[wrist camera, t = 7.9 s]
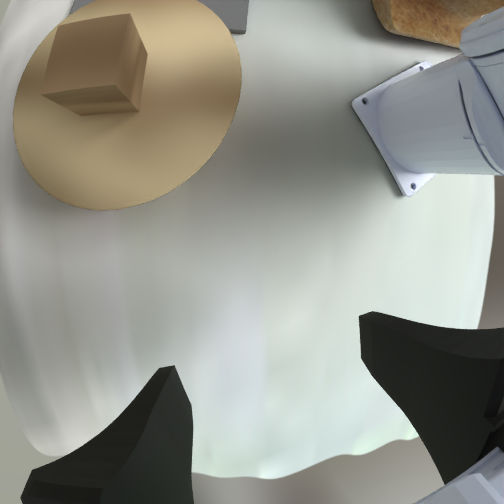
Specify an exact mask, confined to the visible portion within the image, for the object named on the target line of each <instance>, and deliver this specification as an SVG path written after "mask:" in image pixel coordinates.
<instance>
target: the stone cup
mask: <svg viewBox="0 0 504 504" xmlns="http://www.w3.org/2000/svg"><path fill="white" fill-rule="evenodd" d="M372 3H373V8H374V10H375V12H376V13H377V17H378V19H379V20H380V22H381V23H382V25H383V27H384V28H385V29H386V30H387V31H389V32H391V33H394V34H398V35H402V36H407V37H412V38H415V39H420V40H425V41H430V42H435V43H440V44H443V45H447V46H452V47H456V48H459V42H460V41H461V32H462V30H463V29H464V28H466V27H467V26H468V25H470V24H471V23H473V22H474V21H476V20H478V19H480V17H481V16H482V15H485V14H488V13H491V12H493V11H495V10H497V9H499V8H501V7H504V0H372Z"/></svg>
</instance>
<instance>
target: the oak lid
mask: <svg viewBox="0 0 504 504" xmlns="http://www.w3.org/2000/svg"><path fill="white" fill-rule="evenodd" d="M240 90H241V63H240V57H239V53H238V50H237V47H236V43H235V41H234V39H233V37H232V35H231V33H230V31H229V30H228V28H227V27H226V25H225V24H224V23H223V21H222V20H221V19H220V18H219V17H218V16H217V15H216V14H215V13H214V12H213V11H212V10H211V9H209V8H208V7H206V6H205V5H204V4H202V3H201V2H199V1H197V0H95V1H93V2H91V3H89V4H87V5H85V6H83V7H82V8H80V9H78V10H77V11H75V12H74V13H72V14H71V15H69V16H68V17H67V18H66V19H64V20H63V21H62V22H61V23H60V24H58V25H57V26H56V27H55V28H54V29H53V30H52V31H51V32H50V33H49V34H48V35H47V36H46V38H45V39H44V40H43V41H42V43H41V44H40V45H39V46H38V48H37V49H36V51H35V52H34V54H33V55H32V57H31V59H30V60H29V62H28V64H27V66H26V68H25V70H24V72H23V75H22V77H21V80H20V83H19V85H18V89H17V93H16V97H15V103H14V111H13V130H14V138H15V143H16V146H17V150H18V153H19V156H20V158H21V160H22V163H23V165H24V167H25V168H26V170H27V171H28V173H29V175H30V176H31V177H32V178H33V180H34V181H35V182H36V183H37V184H38V185H39V186H40V187H41V188H42V189H43V190H45V191H46V192H47V193H48V194H49V195H51V196H53V197H55V198H56V199H58V200H60V201H62V202H64V203H67V204H69V205H72V206H75V207H79V208H84V209H90V210H115V209H122V208H127V207H132V206H136V205H140V204H143V203H145V202H148V201H151V200H154V199H156V198H158V197H160V196H162V195H164V194H167V193H169V192H170V191H172V190H173V189H175V188H176V187H178V186H180V185H181V184H183V183H184V182H185V181H186V180H188V179H189V178H190V177H191V176H193V175H194V174H195V173H196V172H197V171H198V170H199V169H200V168H201V167H202V166H203V165H204V164H205V163H206V162H207V161H208V160H209V159H210V157H211V156H212V155H213V153H214V152H215V151H216V149H217V148H218V147H219V145H220V143H221V142H222V140H223V138H224V137H225V135H226V133H227V131H228V129H229V127H230V124H231V122H232V120H233V117H234V115H235V112H236V108H237V105H238V101H239V97H240Z"/></svg>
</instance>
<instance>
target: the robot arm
mask: <svg viewBox="0 0 504 504" xmlns="http://www.w3.org/2000/svg"><path fill="white" fill-rule="evenodd" d="M459 48H460V49H461V51H462V52H463V54H461V55H459V56H456V57H454V58H451V59H449V60H446V61H444V62H441V63H439V64H436V65H434V66H432V65H431V64H430V63H429V62H428V61H426V60H425V61H423V62H421V63H419V64H417V65H415V66H413V67H411V68H409V69H407V70H405V71H403V72H402V73H400V74H398V75H396V76H394V77H392V78H391V79H389V80H387V81H385V82H383V83H382V84H380V85H378V86H376V87H374V88H373V89H371V90H369V91H367V92H366V93H364V94H362V95H361V96H359V97H357V98H355V99H354V100H353V101H352V107H353V109H354V110H355V112H356V113H357V115H358V117H359V118H360V120H361V121H362V123H363V124H364V126H365V128H366V129H367V131H368V133H369V134H370V136H371V138H372V139H373V141H374V143H375V144H376V146H377V148H378V149H379V151H380V153H381V155H382V156H383V158H384V160H385V162H386V164H387V165H388V167H389V169H390V171H391V173H392V175H393V177H394V179H395V180H396V182H397V184H398V186H399V188H400V190H401V192H402V194H403V195H404V196H407V197H410V196H412V195H413V194H414V193H415V192H416V191H418V190H419V189H420V188H421V187H422V186H423V185H425V184H426V183H427V182H428V181H429V180H430V179H431V178H433V177H434V176H435V175H436V174H482V175H503V176H504V7H501V8H499V9H497V10H495V11H493V12H491V13H489V14H487V15H485V16H483V17H481V18H480V19H478V20H476V21H474V22H473V23H471V24H470V25H468V26H467V27H466V28H464V29H463V30H462V32H461V41H460V42H459ZM419 68H420V69H421V71H420V69H419ZM362 99H364V100H365V102H366V105H365V104H363V102H362ZM411 184H412V185H413V188H412V189H411ZM359 327H360V344H361V359H362V360H363V362H364V364H365V365H366V367H367V369H368V370H369V372H370V373H371V375H372V376H373V378H374V379H375V380H376V381H377V382H378V383H379V385H380V386H381V387H382V388H383V389H384V390H385V392H386V393H387V394H388V395H389V396H390V397H391V398H392V399H393V401H394V402H395V403H396V404H397V405H398V406H399V407H400V409H401V410H402V411H403V412H404V414H405V415H406V416H407V418H408V419H409V421H410V422H411V424H412V425H413V427H414V428H415V430H416V431H417V433H418V434H419V436H420V438H421V439H422V441H423V443H424V445H425V446H426V448H427V450H428V452H429V453H430V455H431V457H432V459H433V461H434V463H435V465H436V467H437V469H438V471H439V473H440V475H441V477H442V480H443V482H444V484H445V485H444V486H443V487H441V488H440V489H438V490H436V491H435V492H433V493H431V494H430V495H428V496H426V497H424V498H423V499H421V500H419V501H417V502H415V503H414V504H504V328H497V329H480V330H479V329H455V328H445V327H438V326H433V325H428V324H423V323H418V322H414V321H410V320H406V319H402V318H399V317H395V316H391V315H387V314H383V313H379V312H373V311H372V312H369V313H366V314H363V315H360V316H359ZM192 446H193V417H192V407H191V403H190V401H189V399H188V396H187V394H186V392H185V390H184V387H183V385H182V382H181V380H180V378H179V375H178V373H177V370H176V368H175V365H173V366H168V367H163V368H159V369H158V370H157V371H156V372H155V374H154V375H153V376H152V377H151V379H150V380H149V381H148V383H147V384H146V385H145V386H144V388H143V389H142V390H141V391H140V393H139V394H138V395H137V396H136V398H135V399H134V400H133V401H132V402H131V403H130V404H129V405H128V407H127V408H126V409H125V410H124V411H123V412H122V413H121V414H120V415H119V416H118V417H117V418H116V419H115V420H114V421H113V422H112V423H111V424H110V425H109V426H108V427H107V428H105V429H104V430H103V431H102V432H101V433H99V434H98V435H97V436H95V437H94V438H93V439H91V440H90V441H88V442H87V443H86V444H84V445H83V446H81V447H80V448H78V449H76V450H75V451H73V452H71V453H70V454H68V455H66V456H64V457H62V458H60V459H58V460H56V461H54V462H51V463H49V464H46V465H44V466H41V467H39V468H37V469H34V470H32V471H31V474H30V476H29V478H28V481H27V483H26V485H25V488H24V490H23V493H22V495H21V501H22V503H23V504H194V500H193V491H192V480H191V468H192Z"/></svg>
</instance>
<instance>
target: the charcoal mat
mask: <svg viewBox="0 0 504 504" xmlns="http://www.w3.org/2000/svg"><path fill="white" fill-rule="evenodd" d="M93 1H95V0H75V2H74V5H73V8H72V10H71V13H70V15H71V14H72V13H74V12H75V11H77V10H78V9H80V8H82V7H83V6H85V5H87V4H89V3H91V2H93ZM197 1H199V2H201V3H202V4H204V5H205V6H206V7H208V8H209V9H211V10H212V11H213V12H214V13H215V14H216V15H217V16H218V17H219V18H220V19H221V20H222V21H223V23H224V24H225V25H226V27H227V28H228V30H229V31H230V32H232V33H244V34H245V32H246V25H247V14H248V3H249V0H197Z"/></svg>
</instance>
